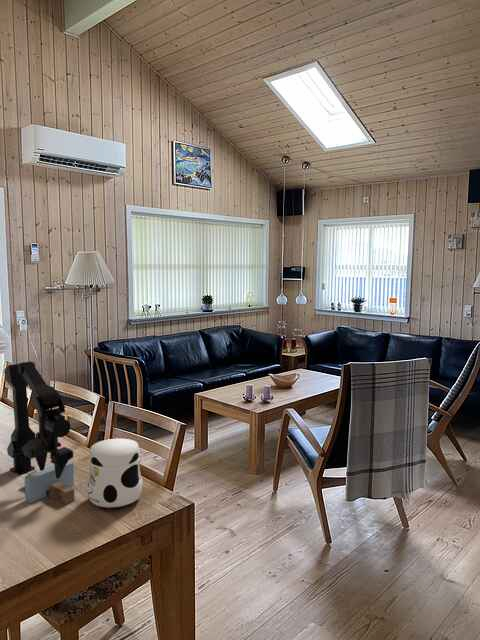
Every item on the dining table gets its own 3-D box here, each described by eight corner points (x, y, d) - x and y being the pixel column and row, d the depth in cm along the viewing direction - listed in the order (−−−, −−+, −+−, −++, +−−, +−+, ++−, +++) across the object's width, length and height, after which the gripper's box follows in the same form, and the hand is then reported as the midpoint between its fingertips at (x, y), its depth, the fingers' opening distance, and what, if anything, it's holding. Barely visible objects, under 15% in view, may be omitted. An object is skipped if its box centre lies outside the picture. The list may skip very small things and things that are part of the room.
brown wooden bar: (28, 484, 171) (27, 473, 170) (36, 481, 173) (35, 470, 173) (66, 504, 158) (65, 492, 157) (74, 500, 160) (74, 488, 160)
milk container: (77, 500, 160) (75, 447, 158) (121, 483, 173) (121, 433, 171) (108, 519, 149) (107, 462, 147) (153, 499, 162) (153, 446, 160)
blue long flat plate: (25, 500, 160) (24, 476, 159) (68, 482, 173) (68, 460, 172) (30, 503, 158) (29, 479, 157) (73, 485, 171) (73, 462, 170)
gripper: (9, 429, 162) (11, 475, 164) (42, 442, 151) (43, 491, 153) (40, 420, 171) (42, 464, 173) (73, 432, 160) (75, 478, 162)
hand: (50, 474), depth 165 cm, fingers open, 9 cm apart
